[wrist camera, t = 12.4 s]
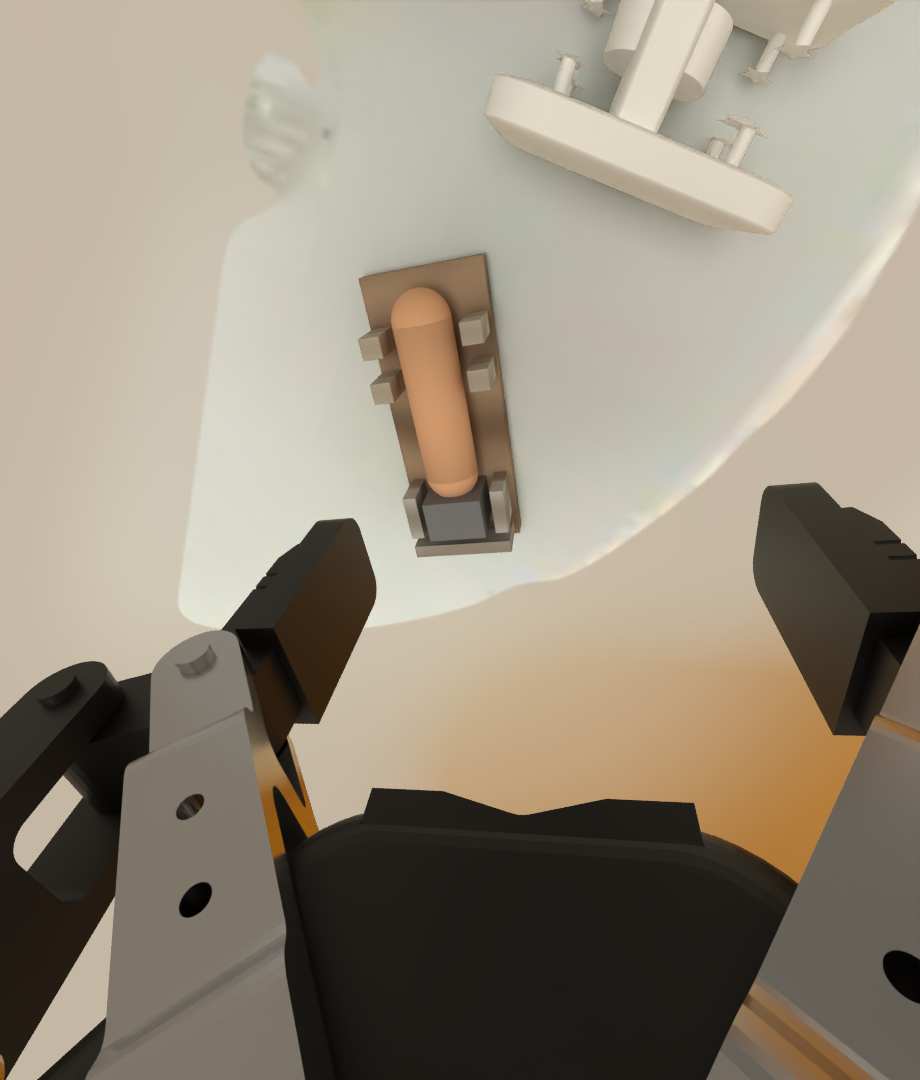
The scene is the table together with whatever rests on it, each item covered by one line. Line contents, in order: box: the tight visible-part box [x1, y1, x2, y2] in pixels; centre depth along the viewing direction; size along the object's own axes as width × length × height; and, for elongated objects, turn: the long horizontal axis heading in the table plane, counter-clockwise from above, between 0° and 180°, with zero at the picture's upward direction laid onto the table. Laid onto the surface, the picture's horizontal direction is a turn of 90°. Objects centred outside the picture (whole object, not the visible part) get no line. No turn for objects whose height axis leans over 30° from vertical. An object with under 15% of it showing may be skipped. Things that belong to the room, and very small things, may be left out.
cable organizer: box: [484, 0, 898, 234], centre depth 24 cm, size 15×11×12 cm
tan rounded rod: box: [391, 287, 492, 542], centre depth 37 cm, size 18×4×4 cm, turn 10°
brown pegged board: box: [358, 253, 521, 557], centre depth 39 cm, size 21×9×5 cm, turn 10°
